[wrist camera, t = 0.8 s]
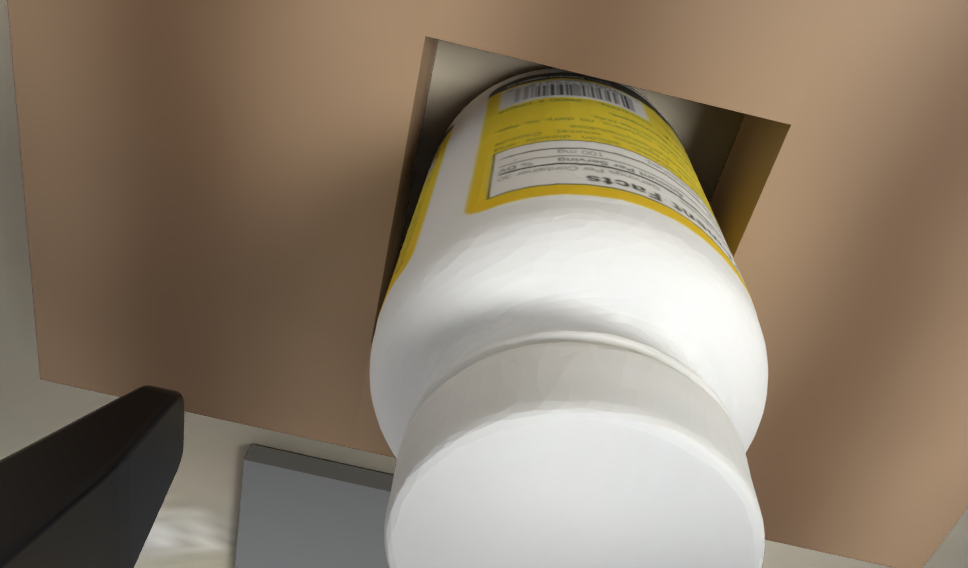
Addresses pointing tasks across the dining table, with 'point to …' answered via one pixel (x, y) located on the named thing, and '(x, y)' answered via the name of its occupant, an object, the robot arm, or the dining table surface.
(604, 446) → the supplement bottle
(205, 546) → the dining table surface
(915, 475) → the wooden block with hole
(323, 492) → the rubber mat
